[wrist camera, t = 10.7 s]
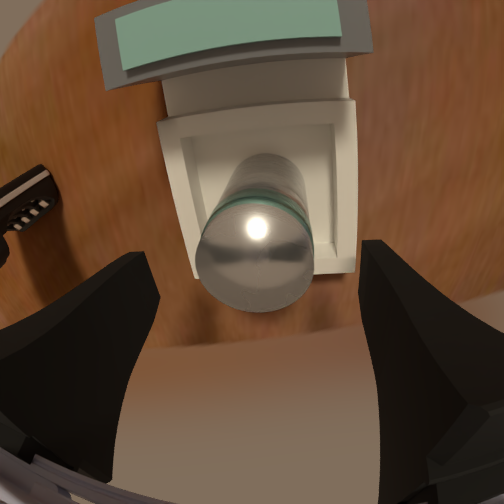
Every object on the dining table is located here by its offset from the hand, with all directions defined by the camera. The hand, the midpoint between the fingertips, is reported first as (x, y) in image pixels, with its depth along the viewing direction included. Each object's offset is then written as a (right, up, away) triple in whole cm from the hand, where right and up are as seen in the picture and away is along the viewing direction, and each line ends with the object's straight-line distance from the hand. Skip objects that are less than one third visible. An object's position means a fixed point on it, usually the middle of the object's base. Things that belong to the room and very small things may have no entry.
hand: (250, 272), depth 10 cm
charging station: (+1, +7, +5) cm, 8 cm away
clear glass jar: (+1, +4, +6) cm, 7 cm away
